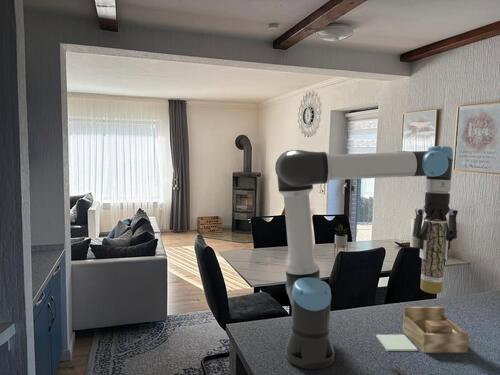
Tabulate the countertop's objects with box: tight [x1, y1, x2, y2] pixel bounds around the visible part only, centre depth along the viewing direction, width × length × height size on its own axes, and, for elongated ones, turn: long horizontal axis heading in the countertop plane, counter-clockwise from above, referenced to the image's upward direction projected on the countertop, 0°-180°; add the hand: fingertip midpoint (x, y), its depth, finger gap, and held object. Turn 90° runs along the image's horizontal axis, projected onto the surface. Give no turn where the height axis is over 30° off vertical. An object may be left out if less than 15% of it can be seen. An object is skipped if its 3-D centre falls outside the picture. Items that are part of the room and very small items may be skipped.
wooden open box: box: [402, 306, 470, 354], centre depth 128 cm, size 15×15×9 cm
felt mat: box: [375, 334, 419, 352], centre depth 126 cm, size 10×10×1 cm
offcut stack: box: [425, 321, 457, 333], centre depth 123 cm, size 11×4×8 cm, turn 92°
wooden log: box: [419, 218, 448, 295], centre depth 128 cm, size 7×7×25 cm
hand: (433, 258), depth 128 cm, fingers closed on wooden log, 7 cm apart
